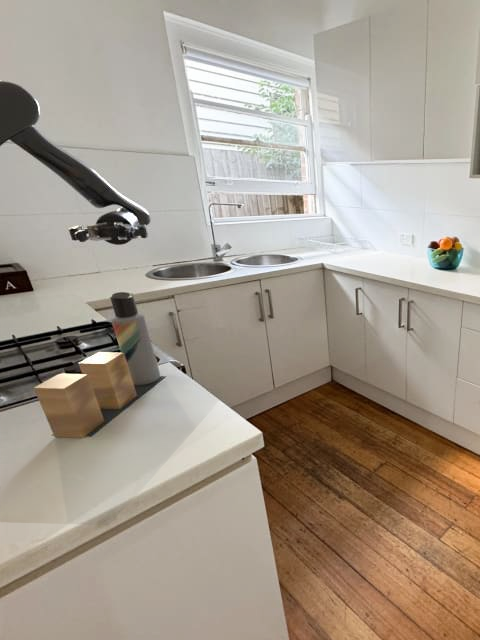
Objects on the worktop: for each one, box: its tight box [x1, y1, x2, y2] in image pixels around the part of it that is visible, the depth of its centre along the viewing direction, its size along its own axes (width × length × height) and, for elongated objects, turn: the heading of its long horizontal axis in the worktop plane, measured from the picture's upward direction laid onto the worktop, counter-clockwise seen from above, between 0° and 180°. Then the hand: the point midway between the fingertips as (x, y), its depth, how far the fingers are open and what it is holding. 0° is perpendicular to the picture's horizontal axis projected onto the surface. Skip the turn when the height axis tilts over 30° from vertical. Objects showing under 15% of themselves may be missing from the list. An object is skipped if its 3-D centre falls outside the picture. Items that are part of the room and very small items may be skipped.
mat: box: [51, 375, 167, 438], centre depth 77 cm, size 22×7×1 cm, turn 0°
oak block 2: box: [78, 351, 137, 409], centre depth 75 cm, size 5×5×10 cm
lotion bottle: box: [109, 291, 161, 385], centre depth 81 cm, size 6×6×20 cm
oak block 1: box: [33, 373, 104, 439], centre depth 67 cm, size 5×5×10 cm
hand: (104, 236), depth 84 cm, fingers open, 8 cm apart
